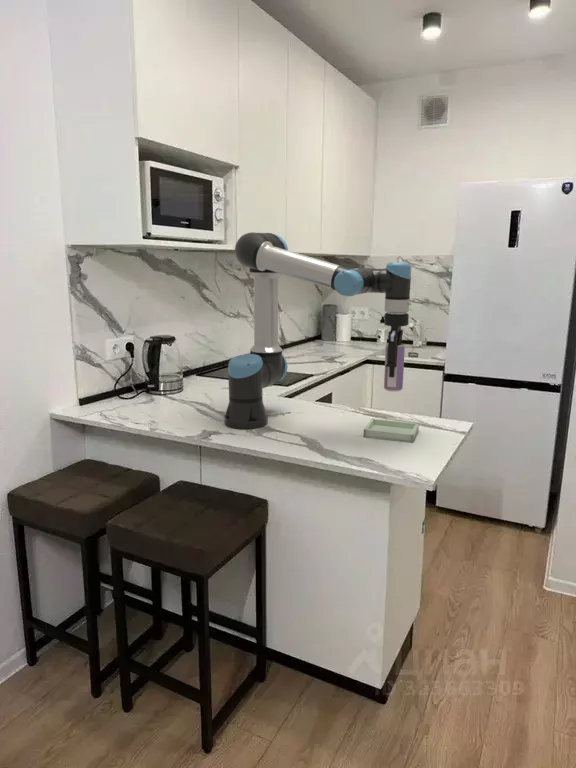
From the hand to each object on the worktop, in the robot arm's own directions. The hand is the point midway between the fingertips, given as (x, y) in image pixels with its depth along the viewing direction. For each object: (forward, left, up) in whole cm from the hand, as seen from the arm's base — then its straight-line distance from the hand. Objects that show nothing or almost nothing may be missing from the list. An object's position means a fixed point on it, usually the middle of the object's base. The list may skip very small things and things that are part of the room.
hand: (393, 384), depth 179 cm
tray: (0, 0, -17) cm, 17 cm away
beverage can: (0, 0, -2) cm, 2 cm away
